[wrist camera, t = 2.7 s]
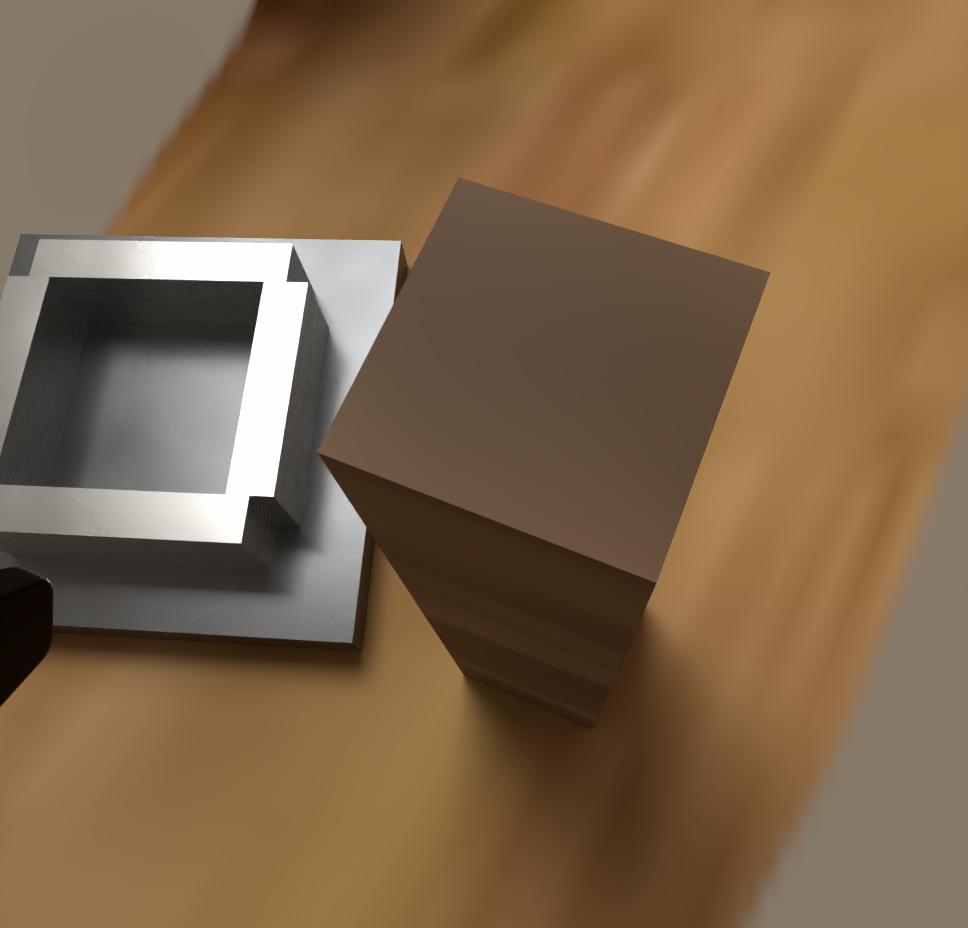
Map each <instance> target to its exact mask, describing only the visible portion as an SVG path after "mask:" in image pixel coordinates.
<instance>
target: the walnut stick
mask: <svg viewBox="0 0 968 928" xmlns="http://www.w3.org/2000/svg"><path fill="white" fill-rule="evenodd" d="M769 275H770V272H767V271H764V270H760V269H757V268H754V267H750V266H747V265H744V264H741V263H737V262H734V261H731V260H727V259H724V258H721V257H718V256H714V255H711V254H708V253H704V252H701V251H698V250H695V249H691V248H688V247H685V246H682V245H678V244H675V243H672V242H668V241H665V240H662V239H659V238H655V237H652V236H649V235H645V234H642V233H639V232H636V231H632V230H629V229H626V228H622V227H619V226H616V225H613V224H609V223H606V222H603V221H599V220H596V219H593V218H590V217H586V216H583V215H580V214H576V213H573V212H570V211H567V210H563V209H560V208H557V207H553V206H550V205H547V204H544V203H540V202H537V201H534V200H530V199H527V198H524V197H521V196H517V195H514V194H511V193H507V192H504V191H501V190H498V189H494V188H491V187H488V186H484V185H481V184H478V183H475V182H471V181H468V180H465V179H461V178H458V180H457V182H456V184H455V186H454V188H453V190H452V192H451V194H450V196H449V197H448V199H447V201H446V203H445V205H444V207H443V209H442V211H441V213H440V215H439V217H438V219H437V221H436V223H435V225H434V227H433V229H432V230H431V232H430V234H429V236H428V238H427V240H426V242H425V244H424V246H423V248H422V250H421V252H420V254H419V256H418V258H417V260H416V261H415V263H414V265H413V267H412V269H411V271H410V273H409V275H408V277H407V279H406V281H405V283H404V285H403V287H402V289H401V291H400V292H399V294H398V296H397V298H396V300H395V302H394V304H393V306H392V308H391V310H390V312H389V314H388V316H387V318H386V320H385V322H384V323H383V325H382V327H381V329H380V331H379V333H378V335H377V337H376V339H375V341H374V343H373V345H372V347H371V349H370V351H369V353H368V354H367V356H366V358H365V360H364V362H363V364H362V366H361V368H360V370H359V372H358V374H357V376H356V378H355V380H354V382H353V384H352V386H351V387H350V389H349V391H348V393H347V395H346V397H345V399H344V401H343V403H342V405H341V407H340V409H339V411H338V413H337V415H336V417H335V418H334V420H333V422H332V424H331V426H330V428H329V430H328V432H327V434H326V436H325V438H324V440H323V442H322V444H321V446H320V448H319V449H318V451H317V453H318V455H319V456H320V458H321V459H322V461H323V462H324V464H325V465H326V467H327V468H328V470H329V471H330V473H331V474H332V476H333V477H334V479H335V480H336V482H337V483H338V485H339V486H340V488H341V489H342V491H343V492H344V494H345V495H346V497H347V499H348V500H349V502H350V503H351V505H352V506H353V508H354V509H355V511H356V512H357V514H358V515H359V517H360V518H361V520H362V521H363V523H364V524H365V526H366V527H367V529H368V530H369V532H370V533H371V535H372V536H373V538H374V539H375V541H376V542H377V544H378V546H379V547H380V549H381V550H382V552H383V553H384V555H385V556H386V558H387V559H388V561H389V562H390V564H391V565H392V567H393V568H394V570H395V571H396V573H397V574H398V576H399V577H400V579H401V580H402V582H403V583H404V585H405V586H406V588H407V589H408V591H409V593H410V594H411V596H412V597H413V599H414V600H415V602H416V603H417V605H418V606H419V608H420V609H421V611H422V612H423V614H424V615H425V617H426V618H427V620H428V621H429V623H430V624H431V626H432V627H433V629H434V630H435V632H436V633H437V635H438V636H439V638H440V639H441V641H442V643H443V644H444V646H445V647H446V649H447V650H448V652H449V653H450V655H451V656H452V658H453V659H454V661H455V662H456V664H457V665H458V667H459V668H460V670H461V671H462V673H463V674H465V675H468V676H470V677H472V678H475V679H477V680H479V681H482V682H484V683H486V684H489V685H491V686H493V687H496V688H498V689H500V690H503V691H505V692H507V693H510V694H512V695H515V696H517V697H519V698H522V699H524V700H526V701H529V702H531V703H533V704H536V705H538V706H540V707H543V708H545V709H547V710H550V711H552V712H554V713H557V714H559V715H562V716H564V717H566V718H569V719H571V720H573V721H576V722H578V723H580V724H583V725H585V726H587V727H590V728H592V729H593V728H594V726H595V723H596V721H597V719H598V716H599V714H600V712H601V709H602V707H603V705H604V703H605V700H606V698H607V696H608V693H609V691H610V689H611V686H612V684H613V682H614V679H615V677H616V675H617V673H618V670H619V668H620V666H621V663H622V661H623V659H624V656H625V654H626V652H627V649H628V647H629V645H630V643H631V640H632V638H633V636H634V633H635V631H636V629H637V626H638V624H639V622H640V619H641V617H642V615H643V613H644V610H645V608H646V606H647V603H648V601H649V599H650V596H651V594H652V592H653V589H654V587H655V585H656V582H657V580H658V577H659V574H660V572H661V569H662V566H663V563H664V561H665V558H666V555H667V552H668V550H669V547H670V544H671V542H672V539H673V536H674V533H675V531H676V528H677V525H678V523H679V520H680V517H681V514H682V512H683V509H684V506H685V503H686V501H687V498H688V495H689V493H690V490H691V487H692V484H693V482H694V479H695V476H696V474H697V471H698V468H699V465H700V463H701V460H702V457H703V454H704V452H705V449H706V446H707V444H708V441H709V438H710V435H711V433H712V430H713V427H714V424H715V422H716V419H717V416H718V414H719V411H720V408H721V405H722V403H723V400H724V397H725V395H726V392H727V389H728V386H729V384H730V381H731V378H732V375H733V373H734V370H735V367H736V365H737V362H738V359H739V356H740V354H741V351H742V348H743V345H744V343H745V340H746V337H747V335H748V332H749V329H750V326H751V324H752V321H753V318H754V316H755V313H756V310H757V307H758V305H759V302H760V299H761V296H762V294H763V291H764V288H765V286H766V283H767V280H768V277H769Z"/></svg>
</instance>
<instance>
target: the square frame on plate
mask: <svg viewBox="0 0 968 928" xmlns="http://www.w3.org/2000/svg"><path fill="white" fill-rule="evenodd" d="M406 269H407V261H406V258H405V254H404V250H403V246H402V243H401V241H375V240H318V239H262V238H205V237H148V236H91V235H35V234H34V235H32V234H21V236H20V239H19V242H18V246H17V249H16V253H15V256H14V260H13V263H12V266H11V269H10V273H9V276H8V278H7V281H6V284H5V288H4V291H3V294H2V298H1V301H0V569H4V568H9V567H21V568H25V569H27V570H29V571H32V572H34V573H36V574H38V575H40V576H43V577H45V578H47V579H48V580H49V581H50V582H51V584H52V586H53V589H54V613H53V632H56V633H73V634H89V635H106V636H123V637H139V638H156V639H172V640H189V641H205V642H222V643H238V644H255V645H271V646H288V647H304V648H321V649H338V650H354V651H362V642H363V634H364V625H365V617H366V608H367V600H368V591H369V583H370V574H371V566H372V557H373V549H374V540H375V539H374V538H373V536H372V535H371V533H370V532H369V530H368V529H367V527H366V526H365V524H364V523H363V521H362V520H361V518H360V517H359V515H358V514H357V512H356V511H355V509H354V508H353V506H352V505H351V503H350V502H349V500H348V499H347V497H346V495H345V494H344V492H343V491H342V489H341V488H340V486H339V485H338V483H337V482H336V480H335V479H334V477H333V476H332V474H331V473H330V471H329V470H328V468H327V467H326V465H325V464H324V462H323V461H322V459H321V458H320V456H319V455H318V453H317V451H318V449H319V448H320V446H321V444H322V442H323V440H324V438H325V436H326V434H327V432H328V430H329V428H330V426H331V424H332V422H333V420H334V418H335V417H336V415H337V413H338V411H339V409H340V407H341V405H342V403H343V401H344V399H345V397H346V395H347V393H348V391H349V389H350V387H351V386H352V384H353V382H354V380H355V378H356V376H357V374H358V372H359V370H360V368H361V366H362V364H363V362H364V360H365V358H366V356H367V354H368V353H369V351H370V349H371V347H372V345H373V343H374V341H375V339H376V337H377V335H378V333H379V331H380V329H381V327H382V325H383V323H384V322H385V320H386V318H387V316H388V314H389V312H390V310H391V308H392V306H393V304H394V302H395V300H396V298H397V296H398V294H399V292H400V291H401V289H402V287H403V285H404V283H405V277H406Z"/></svg>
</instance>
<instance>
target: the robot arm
mask: <svg viewBox="0 0 968 928" xmlns="http://www.w3.org/2000/svg"><path fill="white" fill-rule="evenodd" d="M53 613H54V589H53V586H52V584H51V582H50V581H49V580H48V579H47V578H45V577H43V576H40V575H38V574H36V573H34V572H32V571H29V570H27V569H25V568H21V567H9V568H4V569H0V707H1V705H2V704H3V703H4V702H5V701H6V700H7V699H8V698H9V697H10V696H11V694H12V693H13V692H14V691H15V690H16V689H17V688H18V687H19V686H20V684H21V683H22V682H23V681H24V680H25V679H26V678H27V677H28V676H29V675H30V673H31V672H32V671H33V670H34V669H35V668H36V667H37V666H38V665H39V663H40V662H41V661H42V660H43V659H44V657H45V656H46V654H47V653H48V651H49V649H50V646H51V643H52V640H53Z"/></svg>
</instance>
